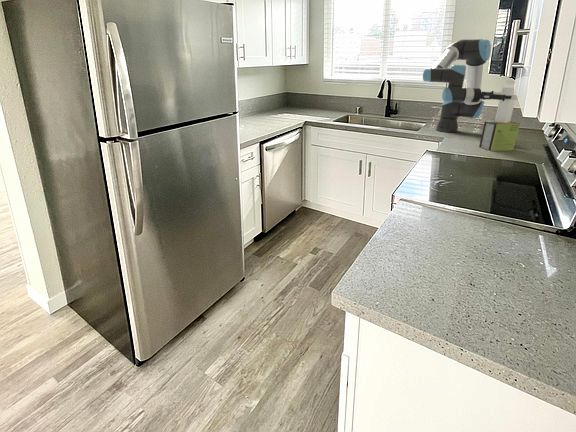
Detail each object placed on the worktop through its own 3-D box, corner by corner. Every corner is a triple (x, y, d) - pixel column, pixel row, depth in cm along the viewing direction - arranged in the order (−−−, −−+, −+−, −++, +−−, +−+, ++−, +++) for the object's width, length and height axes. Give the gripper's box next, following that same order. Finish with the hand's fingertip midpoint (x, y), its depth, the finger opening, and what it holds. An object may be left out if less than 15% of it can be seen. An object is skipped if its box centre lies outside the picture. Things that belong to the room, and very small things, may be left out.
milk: (504, 123, 209) (515, 81, 200) (494, 121, 214) (503, 81, 205) (510, 122, 212) (520, 81, 204) (499, 120, 217) (508, 80, 208)
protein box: (513, 150, 216) (520, 123, 210) (490, 151, 213) (496, 123, 207) (501, 146, 225) (507, 120, 219) (478, 147, 222) (484, 120, 216)
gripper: (462, 99, 222) (499, 100, 220) (478, 104, 199) (519, 105, 197) (465, 86, 219) (502, 87, 217) (481, 90, 196) (523, 91, 194)
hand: (510, 96), depth 207 cm, fingers open, 13 cm apart
